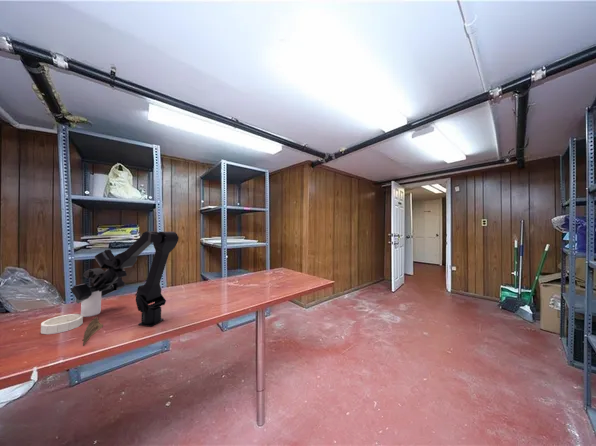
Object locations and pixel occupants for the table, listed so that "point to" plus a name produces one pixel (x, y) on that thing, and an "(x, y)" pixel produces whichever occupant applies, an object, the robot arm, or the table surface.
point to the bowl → (61, 323)
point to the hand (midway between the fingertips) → (89, 299)
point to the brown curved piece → (92, 329)
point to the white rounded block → (91, 305)
